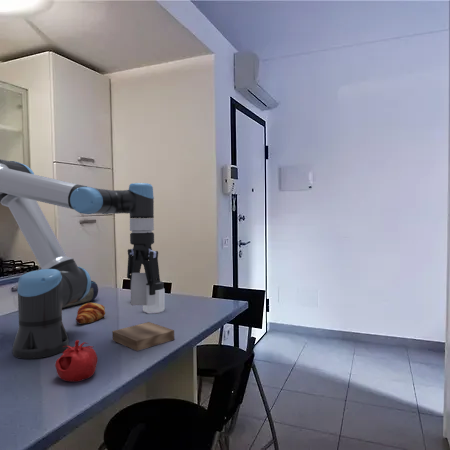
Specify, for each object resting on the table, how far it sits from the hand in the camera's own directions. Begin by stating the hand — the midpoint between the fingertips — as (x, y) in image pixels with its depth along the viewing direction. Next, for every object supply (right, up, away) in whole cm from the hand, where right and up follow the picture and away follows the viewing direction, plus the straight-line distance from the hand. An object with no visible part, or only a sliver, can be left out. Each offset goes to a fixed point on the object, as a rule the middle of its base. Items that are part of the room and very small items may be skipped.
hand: (143, 302), depth 122 cm
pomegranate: (-11, -13, -27) cm, 32 cm away
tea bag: (0, -1, 0) cm, 1 cm away
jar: (-4, -11, +37) cm, 39 cm away
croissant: (-26, -12, +26) cm, 39 cm away
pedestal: (0, -12, 0) cm, 12 cm away
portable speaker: (-42, -11, +49) cm, 66 cm away
